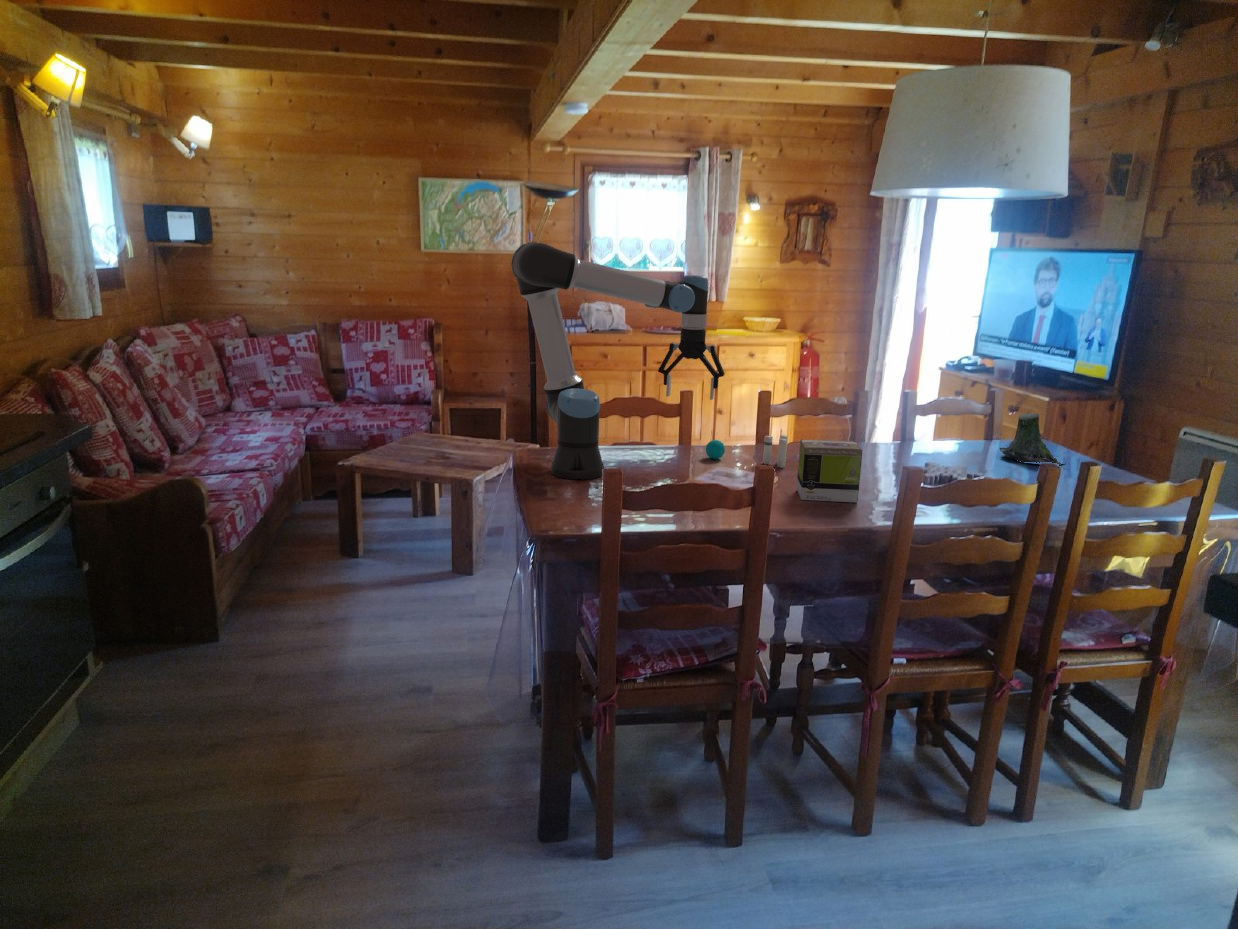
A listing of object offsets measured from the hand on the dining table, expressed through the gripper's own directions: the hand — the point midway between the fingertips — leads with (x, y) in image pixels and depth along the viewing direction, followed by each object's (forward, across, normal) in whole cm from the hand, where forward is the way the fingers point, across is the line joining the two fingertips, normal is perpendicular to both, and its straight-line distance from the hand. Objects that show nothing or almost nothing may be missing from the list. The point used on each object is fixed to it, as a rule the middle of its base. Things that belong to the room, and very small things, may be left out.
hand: (689, 397), depth 250 cm
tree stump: (+20, -108, -39) cm, 116 cm away
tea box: (+19, -43, +28) cm, 55 cm away
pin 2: (+19, -29, +2) cm, 35 cm away
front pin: (+19, -25, -1) cm, 31 cm away
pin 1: (+19, -29, -4) cm, 35 cm away
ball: (+16, -9, 0) cm, 18 cm away
